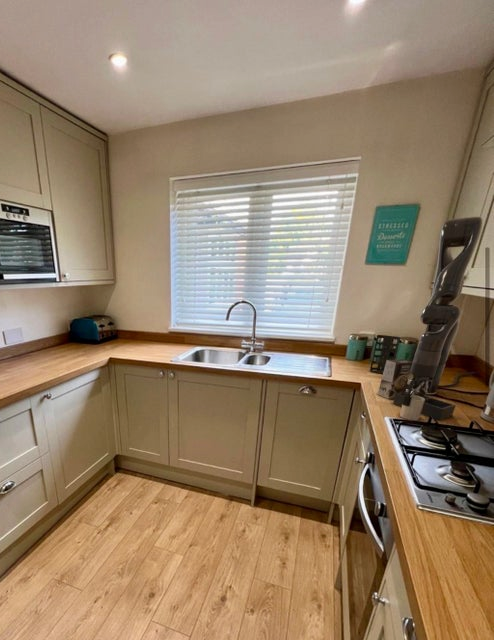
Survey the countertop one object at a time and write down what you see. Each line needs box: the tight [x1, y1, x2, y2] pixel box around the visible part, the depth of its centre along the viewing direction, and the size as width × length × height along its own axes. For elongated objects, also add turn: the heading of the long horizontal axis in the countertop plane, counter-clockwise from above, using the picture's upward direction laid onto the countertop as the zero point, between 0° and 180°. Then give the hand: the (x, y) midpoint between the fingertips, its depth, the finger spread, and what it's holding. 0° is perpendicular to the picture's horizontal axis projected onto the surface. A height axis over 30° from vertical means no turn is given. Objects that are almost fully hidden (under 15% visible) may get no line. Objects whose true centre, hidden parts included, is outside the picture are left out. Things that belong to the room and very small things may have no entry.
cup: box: [399, 395, 425, 421], centre depth 124 cm, size 6×6×8 cm
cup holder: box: [392, 391, 456, 421], centre depth 132 cm, size 9×18×5 cm, turn 28°
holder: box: [369, 334, 401, 374], centre depth 179 cm, size 11×8×20 cm
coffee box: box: [377, 358, 413, 400], centre depth 144 cm, size 9×6×16 cm
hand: (412, 404), depth 124 cm, fingers open, 8 cm apart
